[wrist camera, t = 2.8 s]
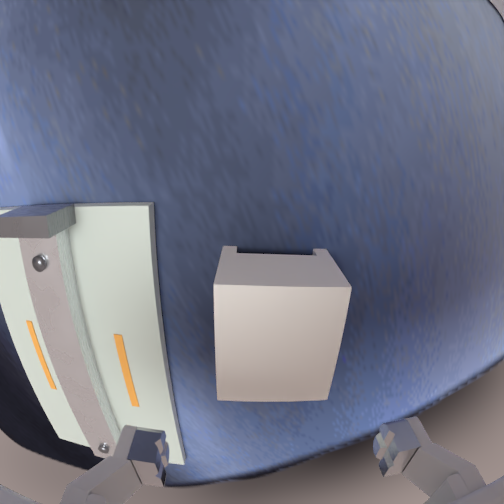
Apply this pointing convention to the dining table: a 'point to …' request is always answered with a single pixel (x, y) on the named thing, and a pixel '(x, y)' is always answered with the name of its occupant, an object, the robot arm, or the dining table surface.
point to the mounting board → (103, 320)
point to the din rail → (63, 316)
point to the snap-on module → (277, 325)
